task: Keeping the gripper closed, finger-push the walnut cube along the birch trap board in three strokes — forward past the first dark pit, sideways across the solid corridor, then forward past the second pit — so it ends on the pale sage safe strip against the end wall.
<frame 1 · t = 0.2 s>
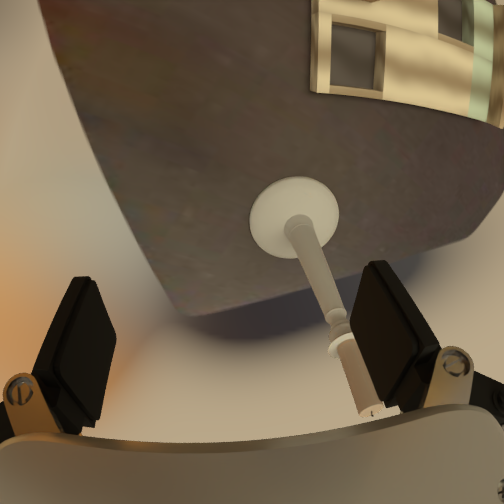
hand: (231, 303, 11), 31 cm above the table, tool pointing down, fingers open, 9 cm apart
trap board: (413, 35, 30), on the table
candlestick: (294, 218, 44), on the table
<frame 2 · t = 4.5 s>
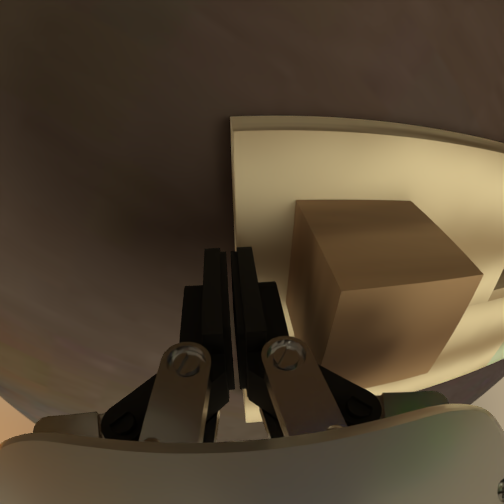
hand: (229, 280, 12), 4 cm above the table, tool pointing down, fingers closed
trap board: (447, 277, 19), on the table
walnut block: (347, 253, 13), point 3 cm above the table, touching gripper, trap board
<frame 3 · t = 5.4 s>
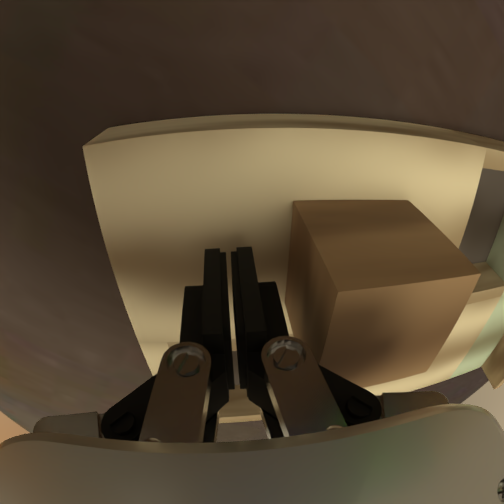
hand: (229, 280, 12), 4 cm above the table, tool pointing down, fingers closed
trap board: (385, 284, 19), on the table
walnut block: (345, 253, 13), point 3 cm above the table, touching gripper, trap board
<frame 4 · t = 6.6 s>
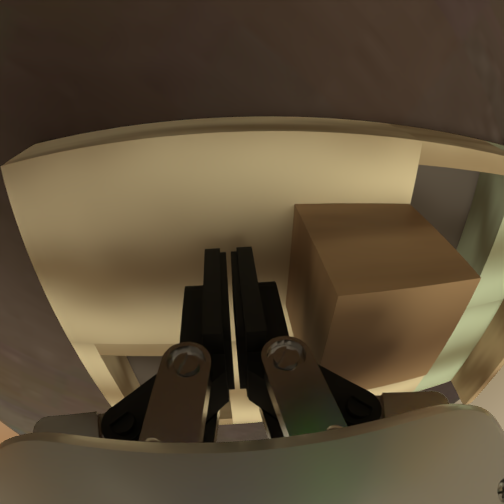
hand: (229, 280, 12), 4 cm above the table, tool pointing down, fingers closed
trap board: (324, 293, 18), on the table
walnut block: (346, 256, 13), point 3 cm above the table, touching gripper, trap board
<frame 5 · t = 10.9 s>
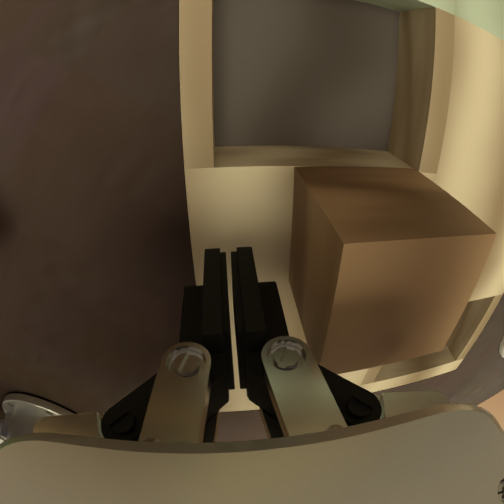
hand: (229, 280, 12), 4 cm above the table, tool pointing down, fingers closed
trap board: (395, 188, 15), on the table
walnut block: (352, 225, 12), point 3 cm above the table, touching gripper, trap board
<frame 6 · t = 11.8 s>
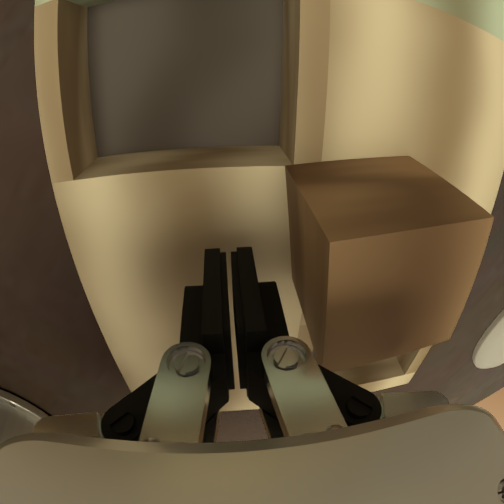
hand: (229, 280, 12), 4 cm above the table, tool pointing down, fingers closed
trap board: (297, 186, 14), on the table
walnut block: (350, 218, 12), point 3 cm above the table, touching gripper
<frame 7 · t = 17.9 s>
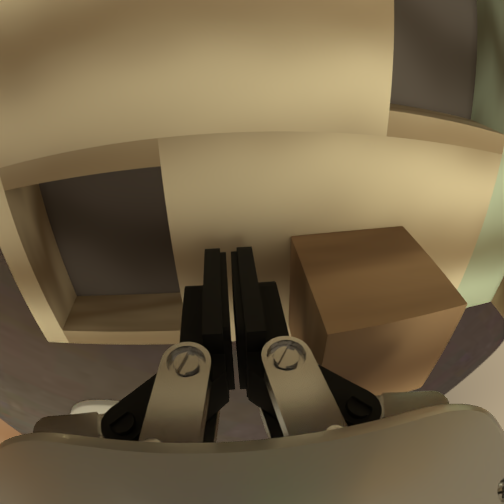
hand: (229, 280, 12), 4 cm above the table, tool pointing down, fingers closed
trap board: (312, 117, 12), on the table
walnut block: (344, 278, 14), point 3 cm above the table, touching gripper
candlestick: (129, 427, 27), on the table
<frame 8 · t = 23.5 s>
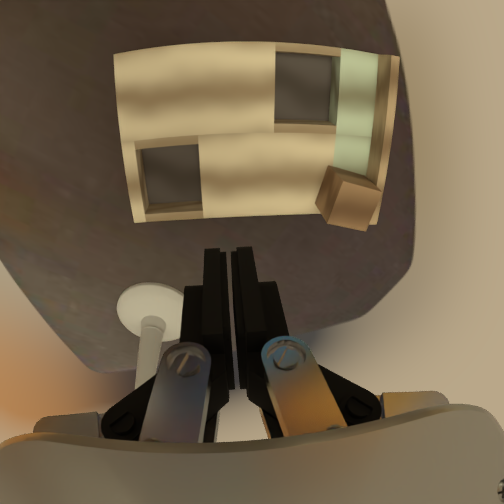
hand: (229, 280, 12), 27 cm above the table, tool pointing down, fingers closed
trap board: (252, 127, 34), on the table
walnut block: (339, 189, 36), point 3 cm above the table, touching trap board
candlestick: (155, 311, 49), on the table
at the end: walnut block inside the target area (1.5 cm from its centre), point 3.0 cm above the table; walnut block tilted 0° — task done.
